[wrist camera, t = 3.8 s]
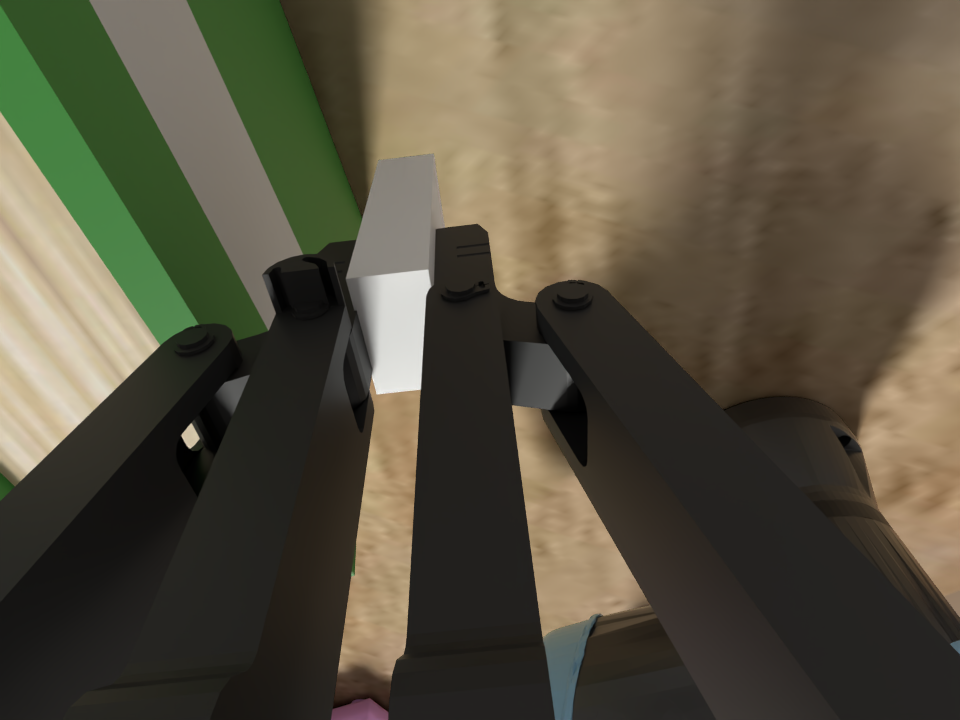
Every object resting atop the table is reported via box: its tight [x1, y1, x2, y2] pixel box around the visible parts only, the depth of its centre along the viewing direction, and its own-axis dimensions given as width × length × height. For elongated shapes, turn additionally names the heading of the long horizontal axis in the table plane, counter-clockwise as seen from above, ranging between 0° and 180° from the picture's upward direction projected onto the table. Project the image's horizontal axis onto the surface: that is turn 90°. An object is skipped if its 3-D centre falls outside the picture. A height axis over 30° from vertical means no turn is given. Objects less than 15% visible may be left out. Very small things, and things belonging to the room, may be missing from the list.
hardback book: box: [0, 0, 362, 576], centre depth 22 cm, size 18×7×24 cm, turn 14°
